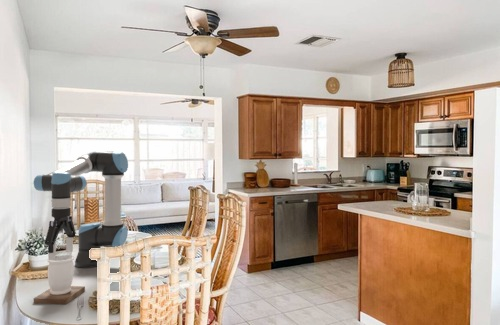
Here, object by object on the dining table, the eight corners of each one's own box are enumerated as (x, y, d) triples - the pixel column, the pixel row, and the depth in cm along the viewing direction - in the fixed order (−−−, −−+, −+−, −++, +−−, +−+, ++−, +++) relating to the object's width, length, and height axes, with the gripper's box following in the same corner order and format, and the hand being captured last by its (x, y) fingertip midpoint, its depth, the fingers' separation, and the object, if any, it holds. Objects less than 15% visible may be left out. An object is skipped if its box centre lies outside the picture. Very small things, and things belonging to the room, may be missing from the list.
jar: (55, 287, 172) (56, 254, 171) (78, 288, 171) (78, 255, 171) (42, 296, 161) (42, 261, 161) (65, 296, 161) (66, 261, 160)
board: (55, 289, 174) (55, 285, 174) (84, 290, 173) (84, 286, 173) (33, 302, 158) (33, 298, 158) (65, 304, 157) (65, 299, 157)
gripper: (68, 203, 178) (68, 248, 178) (34, 211, 153) (34, 263, 154) (83, 203, 177) (83, 248, 178) (52, 212, 153) (52, 264, 153)
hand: (61, 255), depth 166 cm, fingers open, 13 cm apart
